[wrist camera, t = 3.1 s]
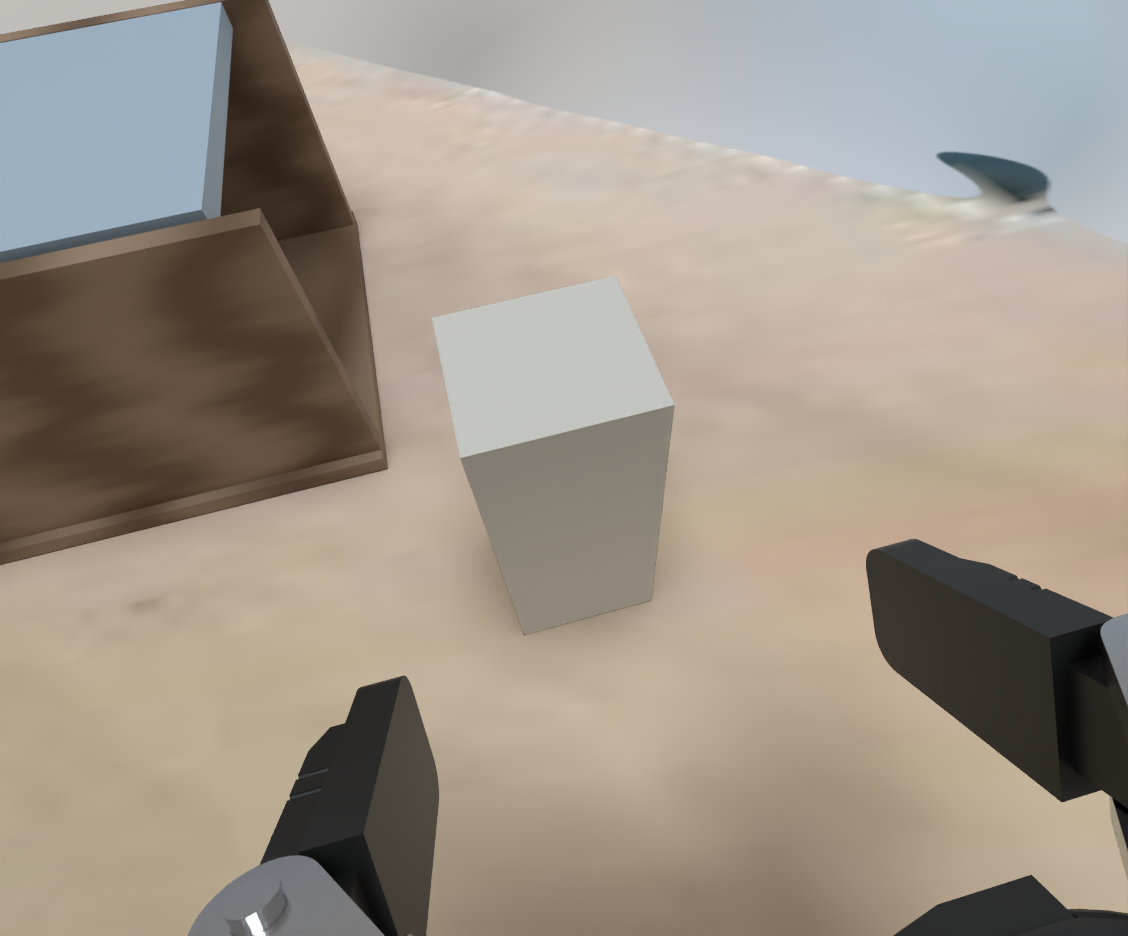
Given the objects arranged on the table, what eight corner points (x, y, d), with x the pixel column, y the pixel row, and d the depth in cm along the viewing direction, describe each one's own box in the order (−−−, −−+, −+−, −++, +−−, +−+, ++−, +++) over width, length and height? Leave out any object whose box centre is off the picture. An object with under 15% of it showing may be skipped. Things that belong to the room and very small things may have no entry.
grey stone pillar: (524, 634, 24) (460, 458, 14) (500, 530, 27) (431, 318, 17) (651, 600, 25) (674, 404, 15) (616, 500, 27) (616, 275, 17)
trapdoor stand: (-41, 574, 28) (-438, 384, 17) (41, 290, 38) (-178, 62, 27) (387, 468, 29) (259, 234, 19) (357, 222, 39) (262, -19, 29)
